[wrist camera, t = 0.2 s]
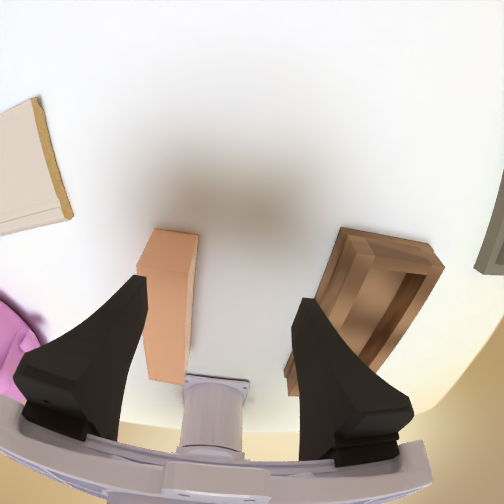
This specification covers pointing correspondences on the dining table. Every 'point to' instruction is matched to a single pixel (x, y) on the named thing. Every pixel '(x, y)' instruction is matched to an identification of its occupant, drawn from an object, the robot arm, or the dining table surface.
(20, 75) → the dining table surface
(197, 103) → the dining table surface
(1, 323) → the teapot
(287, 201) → the dining table surface
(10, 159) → the baseboard
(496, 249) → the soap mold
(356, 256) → the tray
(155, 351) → the clay block
